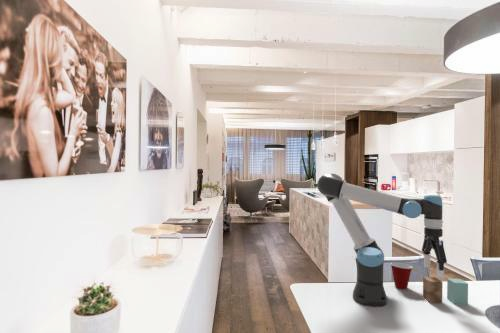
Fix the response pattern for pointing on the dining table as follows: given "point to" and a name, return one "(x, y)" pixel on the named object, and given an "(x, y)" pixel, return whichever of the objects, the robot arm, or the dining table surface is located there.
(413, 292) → the dining table surface
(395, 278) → the plastic cup
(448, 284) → the teal block
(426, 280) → the walnut block
